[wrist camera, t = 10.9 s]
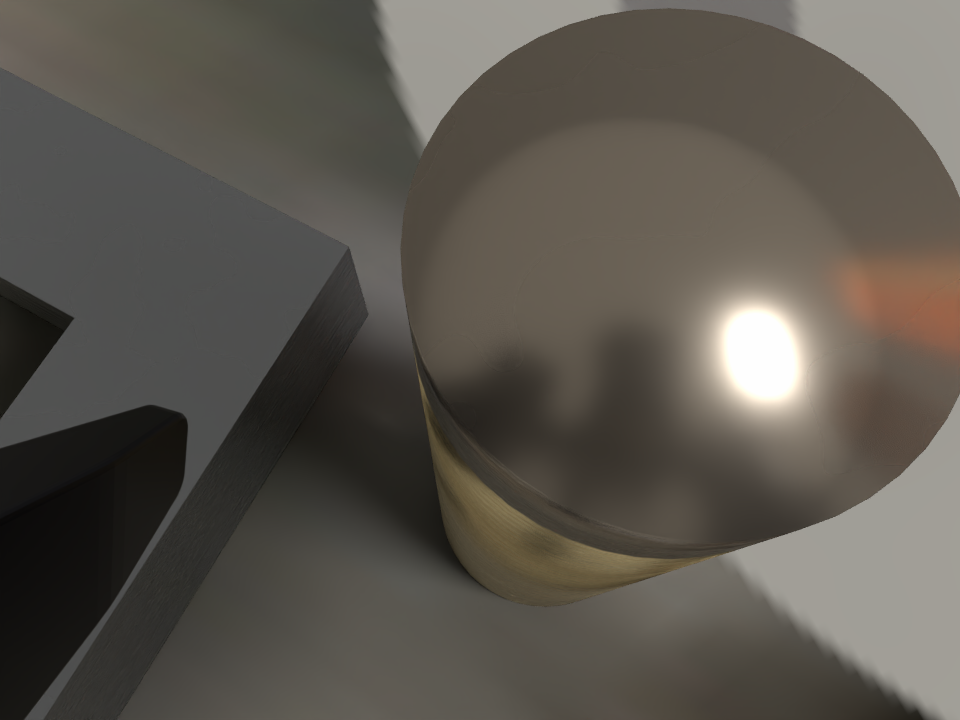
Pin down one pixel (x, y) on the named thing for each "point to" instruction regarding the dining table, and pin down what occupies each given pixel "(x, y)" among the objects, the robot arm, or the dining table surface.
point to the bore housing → (160, 343)
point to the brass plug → (672, 299)
